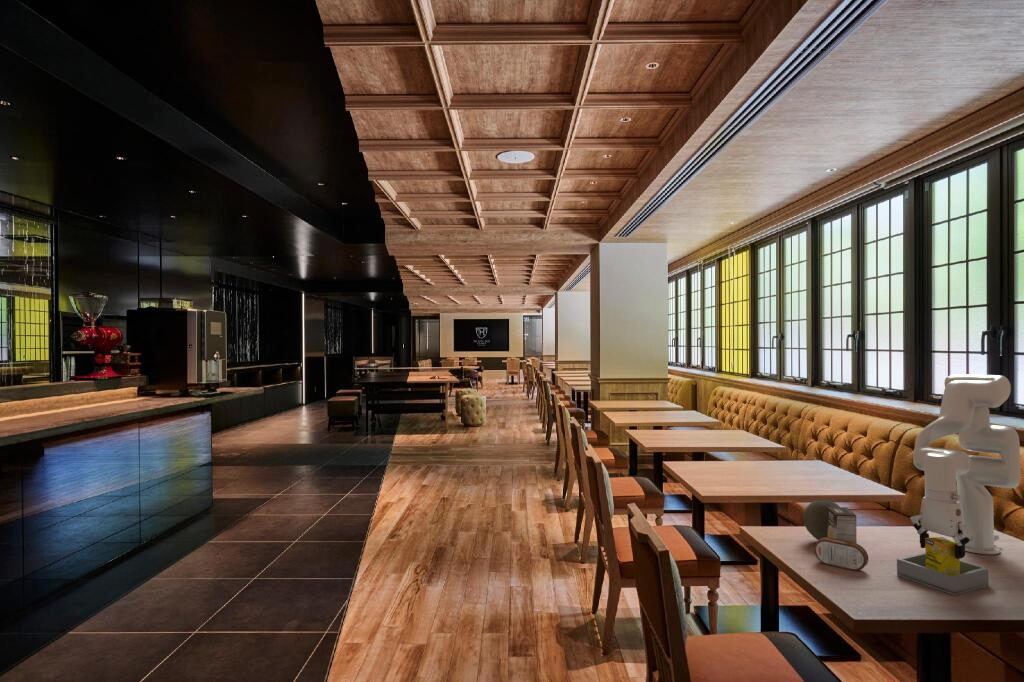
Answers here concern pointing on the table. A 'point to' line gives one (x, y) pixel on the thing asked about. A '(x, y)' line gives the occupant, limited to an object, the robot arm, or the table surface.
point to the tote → (943, 575)
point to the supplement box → (942, 555)
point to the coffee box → (841, 524)
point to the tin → (841, 553)
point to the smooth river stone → (817, 518)
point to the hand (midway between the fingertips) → (941, 552)
